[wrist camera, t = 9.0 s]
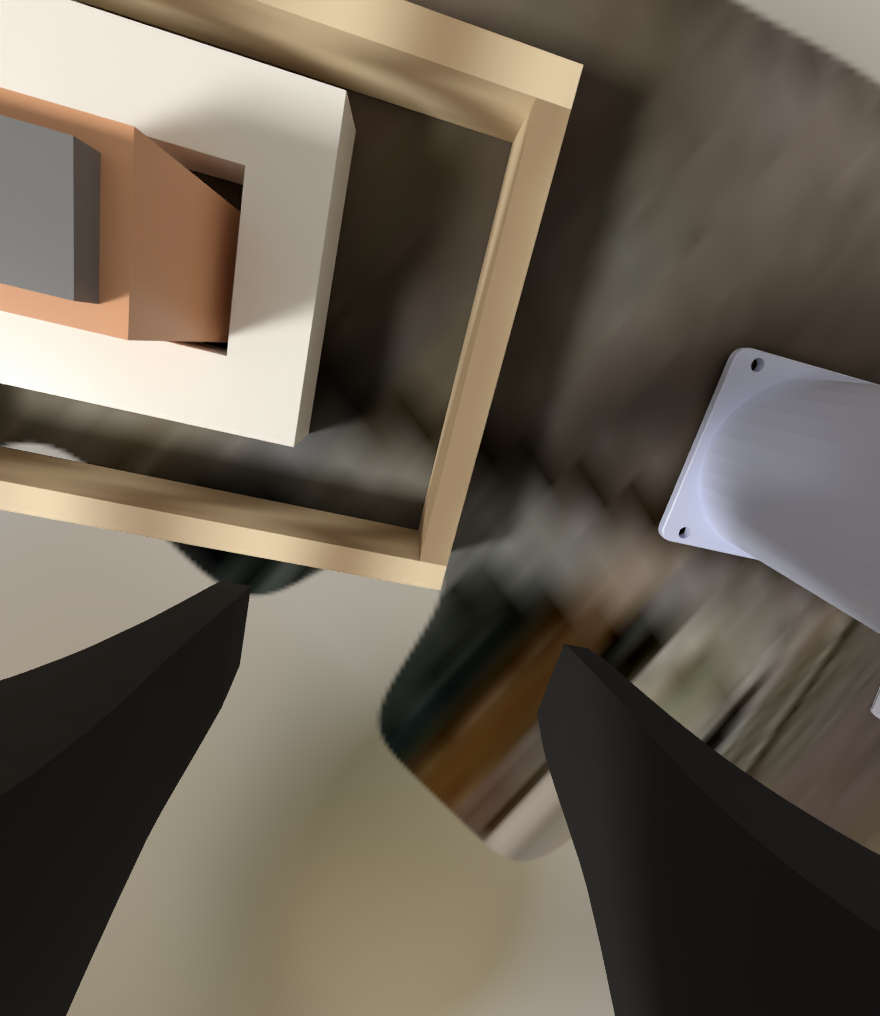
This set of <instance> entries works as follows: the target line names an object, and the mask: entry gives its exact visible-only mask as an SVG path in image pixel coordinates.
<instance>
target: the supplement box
mask: <svg viewBox="0 0 880 1016" xmlns="http://www.w3.org/2000/svg"><path fill="white" fill-rule="evenodd" d="M871 712H872V713H873V714H874V715H875V716H876V717H878V718H879V719H880V687H879V690H878V692H877V694H876V697H875V700H874V702H873V705H872V707H871Z"/></svg>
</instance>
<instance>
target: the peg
mask: <svg viewBox="0 0 880 1016" xmlns="http://www.w3.org/2000/svg"><path fill="white" fill-rule="evenodd" d="M240 214H241V212H240V211H238V210H237V209H236V208H235V207H234V206H232V205H231V204H230V203H229V202H227V201H226V200H225V199H224V198H222V197H221V196H220V195H219V194H217V193H216V192H215V191H214V190H212V189H211V188H210V187H209V186H208V185H206V184H205V183H204V182H203V181H201V180H200V179H199V178H198V177H196V176H195V175H194V174H193V173H191V172H190V171H189V170H188V169H186V168H185V167H184V166H183V165H181V164H180V163H179V162H178V161H177V160H175V159H174V158H173V157H172V156H170V155H169V154H168V153H167V152H165V151H164V150H163V149H162V148H160V147H159V146H158V145H157V144H155V143H154V142H153V141H152V140H150V139H149V138H148V137H147V136H146V135H144V134H143V133H142V132H141V131H139V130H138V129H137V128H136V127H134V126H131V125H128V124H124V123H121V122H117V121H114V120H111V119H107V118H104V117H100V116H97V115H94V114H90V113H87V112H83V111H80V110H77V109H73V108H70V107H66V106H63V105H59V104H56V103H53V102H49V101H46V100H42V99H39V98H36V97H32V96H29V95H25V94H22V93H19V92H15V91H12V90H8V89H5V88H1V87H0V311H4V312H8V313H13V314H17V315H21V316H26V317H30V318H34V319H39V320H43V321H47V322H51V323H56V324H60V325H64V326H69V327H73V328H77V329H81V330H86V331H90V332H94V333H99V334H103V335H107V336H111V337H116V338H120V339H124V340H136V341H188V342H228V338H229V328H230V317H231V307H232V297H233V286H234V276H235V266H236V255H237V245H238V235H239V224H240Z"/></svg>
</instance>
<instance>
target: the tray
mask: <svg viewBox="0 0 880 1016" xmlns="http://www.w3.org/2000/svg"><path fill="white" fill-rule="evenodd" d="M79 1H82V2H85V3H88V4H91V5H94V6H97V7H100V8H103V9H106V10H109V11H112V12H115V13H118V14H121V15H124V16H127V17H130V18H133V19H136V20H140V21H143V22H146V23H149V24H152V25H155V26H158V27H161V28H164V29H167V30H170V31H173V32H176V33H179V34H182V35H185V36H188V37H191V38H194V39H197V40H200V41H203V42H207V43H210V44H213V45H216V46H219V47H222V48H225V49H228V50H231V51H234V52H237V53H240V54H243V55H246V56H249V57H252V58H255V59H258V60H261V61H264V62H267V63H270V64H274V65H277V66H280V67H283V68H286V69H289V70H292V71H295V72H298V73H301V74H304V75H307V76H310V77H313V78H316V79H319V80H322V81H325V82H328V83H331V84H334V85H337V86H340V87H344V88H347V89H350V90H353V91H356V92H359V93H362V94H365V95H368V96H371V97H374V98H377V99H380V100H383V101H386V102H389V103H392V104H395V105H398V106H401V107H404V108H407V109H411V110H414V111H417V112H420V113H423V114H426V115H429V116H432V117H435V118H438V119H441V120H444V121H447V122H450V123H453V124H456V125H459V126H462V127H465V128H468V129H471V130H474V131H477V132H481V133H484V134H487V135H490V136H493V137H496V138H499V139H502V140H505V141H508V142H511V143H513V144H512V148H511V152H510V156H509V160H508V164H507V168H506V172H505V176H504V180H503V184H502V189H501V193H500V197H499V201H498V205H497V209H496V213H495V217H494V221H493V225H492V229H491V233H490V238H489V242H488V246H487V250H486V254H485V258H484V262H483V266H482V270H481V274H480V278H479V283H478V287H477V291H476V295H475V299H474V303H473V307H472V311H471V315H470V319H469V323H468V327H467V332H466V336H465V340H464V344H463V348H462V352H461V356H460V360H459V364H458V368H457V372H456V376H455V381H454V385H453V389H452V393H451V397H450V401H449V405H448V409H447V413H446V417H445V421H444V426H443V430H442V434H441V438H440V442H439V446H438V450H437V454H436V458H435V462H434V466H433V470H432V475H431V479H430V483H429V487H428V491H427V495H426V499H425V503H424V507H423V511H422V515H421V519H420V524H419V528H418V530H415V529H410V528H405V527H400V526H395V525H390V524H385V523H380V522H375V521H370V520H365V519H360V518H355V517H350V516H345V515H340V514H335V513H330V512H325V511H320V510H315V509H310V508H305V507H300V506H295V505H290V504H285V503H280V502H275V501H270V500H265V499H260V498H255V497H250V496H245V495H240V494H236V493H231V492H226V491H221V490H216V489H211V488H206V487H201V486H196V485H191V484H186V483H181V482H176V481H171V480H166V479H161V478H156V477H151V476H146V475H141V474H136V473H131V472H126V471H121V470H116V469H111V468H106V467H101V466H96V465H91V464H86V463H81V462H76V461H71V460H66V459H61V458H56V457H52V456H46V455H42V454H37V453H31V452H27V451H22V450H17V449H12V448H7V447H2V446H0V510H6V511H11V512H17V513H22V514H28V515H34V516H39V517H44V518H49V519H55V520H60V521H66V522H71V523H77V524H82V525H88V526H93V527H99V528H104V529H109V530H115V531H120V532H126V533H131V534H136V535H142V536H147V537H153V538H158V539H164V540H169V541H174V542H180V543H185V544H191V545H196V546H201V547H207V548H212V549H218V550H223V551H229V552H234V553H240V554H245V555H250V556H256V557H261V558H267V559H272V560H278V561H283V562H288V563H294V564H299V565H305V566H310V567H316V568H321V569H326V570H332V571H338V572H343V573H348V574H354V575H360V576H365V577H370V578H376V579H381V580H387V581H392V582H397V583H403V584H408V585H413V586H419V587H424V588H430V589H436V590H440V589H441V586H442V582H443V578H444V575H445V571H446V567H447V564H448V560H449V556H450V553H451V549H452V545H453V542H454V538H455V534H456V531H457V527H458V523H459V520H460V516H461V512H462V509H463V505H464V501H465V497H466V494H467V490H468V486H469V483H470V479H471V475H472V472H473V468H474V464H475V461H476V457H477V453H478V450H479V446H480V442H481V439H482V435H483V431H484V428H485V424H486V420H487V417H488V413H489V409H490V406H491V402H492V398H493V395H494V391H495V387H496V384H497V380H498V376H499V373H500V369H501V365H502V362H503V358H504V354H505V351H506V347H507V343H508V340H509V336H510V332H511V329H512V325H513V321H514V318H515V314H516V310H517V306H518V303H519V299H520V295H521V292H522V288H523V284H524V281H525V277H526V273H527V270H528V266H529V262H530V259H531V255H532V251H533V248H534V244H535V240H536V237H537V233H538V229H539V226H540V222H541V218H542V215H543V211H544V207H545V204H546V200H547V196H548V193H549V189H550V185H551V182H552V178H553V174H554V171H555V167H556V163H557V160H558V156H559V152H560V149H561V145H562V141H563V138H564V134H565V130H566V127H567V123H568V119H569V115H570V112H571V108H572V104H573V101H574V97H575V93H576V90H577V86H578V82H579V79H580V75H581V71H582V68H583V65H582V64H579V63H577V62H574V61H571V60H568V59H565V58H563V57H560V56H557V55H554V54H552V53H549V52H546V51H543V50H541V49H538V48H535V47H532V46H529V45H527V44H524V43H521V42H518V41H516V40H513V39H510V38H507V37H505V36H502V35H499V34H496V33H493V32H491V31H488V30H485V29H482V28H480V27H477V26H474V25H471V24H469V23H466V22H463V21H460V20H457V19H455V18H452V17H449V16H446V15H444V14H441V13H438V12H435V11H432V10H430V9H427V8H424V7H421V6H419V5H416V4H413V3H410V2H408V1H405V0H79ZM0 87H1V88H5V89H8V90H12V91H15V92H19V93H22V94H25V95H29V96H32V97H36V98H39V99H42V100H46V101H49V102H53V103H56V104H59V105H63V106H66V107H70V108H73V109H77V110H80V111H83V112H87V113H90V114H94V115H97V116H100V117H104V118H107V119H111V120H114V121H117V122H121V123H124V124H128V125H131V126H134V127H136V128H137V129H138V130H139V131H141V132H142V133H143V134H144V135H146V136H147V137H148V138H149V139H150V140H152V141H153V142H154V143H155V144H157V145H158V146H159V147H160V148H162V149H163V150H164V151H165V152H167V153H168V154H169V155H170V156H172V157H173V158H174V159H175V160H177V161H178V162H179V163H180V164H181V165H183V166H184V167H185V168H186V169H190V170H193V171H196V172H200V173H203V174H207V175H210V176H214V177H217V178H221V179H224V180H227V181H231V182H234V183H238V184H241V185H243V193H242V204H241V214H240V224H239V235H238V245H237V255H236V266H235V276H234V286H233V297H232V307H231V317H230V328H229V338H228V348H222V347H218V346H214V345H210V344H206V343H202V342H188V341H136V340H124V339H120V338H116V337H111V336H107V335H103V334H99V333H94V332H90V331H86V330H81V329H77V328H73V327H69V326H64V325H60V324H56V323H51V322H47V321H43V320H39V319H34V318H30V317H26V316H21V315H17V314H13V313H8V312H4V311H0V383H2V384H7V385H11V386H16V387H21V388H25V389H30V390H34V391H39V392H44V393H48V394H53V395H57V396H62V397H66V398H71V399H76V400H80V401H85V402H89V403H94V404H99V405H103V406H108V407H112V408H117V409H121V410H126V411H131V412H135V413H140V414H144V415H149V416H154V417H158V418H163V419H167V420H172V421H176V422H181V423H186V424H190V425H195V426H199V427H204V428H209V429H213V430H218V431H222V432H227V433H231V434H236V435H241V436H245V437H250V438H254V439H259V440H264V441H268V442H273V443H277V444H282V445H286V446H291V447H294V446H295V445H297V444H298V443H299V442H300V441H301V440H302V439H303V438H304V437H305V436H307V435H308V433H309V427H310V421H311V414H312V408H313V401H314V395H315V389H316V382H317V376H318V369H319V363H320V357H321V350H322V344H323V337H324V331H325V325H326V318H327V312H328V306H329V299H330V293H331V286H332V280H333V274H334V267H335V261H336V254H337V248H338V242H339V235H340V229H341V222H342V216H343V210H344V203H345V197H346V190H347V184H348V178H349V171H350V165H351V158H352V152H353V146H354V139H355V133H356V129H355V125H354V121H353V117H352V112H351V108H350V104H349V100H348V95H347V91H346V90H343V89H340V88H337V87H334V86H331V85H328V84H325V83H322V82H319V81H316V80H312V79H309V78H306V77H303V76H300V75H297V74H294V73H291V72H288V71H285V70H282V69H279V68H276V67H273V66H270V65H267V64H264V63H261V62H258V61H255V60H251V59H248V58H245V57H242V56H239V55H236V54H233V53H230V52H227V51H224V50H221V49H218V48H215V47H212V46H209V45H206V44H203V43H200V42H197V41H194V40H190V39H187V38H184V37H181V36H178V35H175V34H172V33H169V32H166V31H163V30H160V29H157V28H154V27H151V26H148V25H145V24H142V23H139V22H136V21H132V20H129V19H126V18H123V17H120V16H117V15H114V14H111V13H108V12H105V11H102V10H99V9H96V8H93V7H90V6H87V5H84V4H81V3H78V2H75V1H71V0H0Z"/></svg>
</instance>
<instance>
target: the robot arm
mask: <svg viewBox="0 0 880 1016" xmlns="http://www.w3.org/2000/svg"><path fill="white" fill-rule="evenodd" d="M754 359H756V360H757V366H756V368H755V369H754V370H753V371H752V369H751V363H752V362H753V360H754ZM683 527H686V529H685V531H684V533H683V534H681V535H679V531H680V530H681V529H682V528H683ZM658 530H659V534H660V535H661V536H662V537H663V538H665V539H666V540H669V541H673V542H678V543H682V544H687V545H692V546H696V547H701V548H706V549H710V550H715V551H720V552H724V553H729V554H734V555H738V556H743V557H748V558H752V559H757V560H759V561H761V562H763V563H764V564H766V565H768V566H769V567H771V568H773V569H774V570H776V571H777V572H779V573H781V574H782V575H784V576H786V577H787V578H789V579H791V580H792V581H794V582H796V583H797V584H799V585H800V586H802V587H804V588H805V589H807V590H809V591H810V592H812V593H814V594H815V595H817V596H819V597H820V598H822V599H823V600H825V601H827V602H828V603H830V604H832V605H833V606H835V607H837V608H838V609H840V610H841V611H843V612H845V613H846V614H848V615H850V616H851V617H853V618H855V619H856V620H858V621H860V622H861V623H863V624H864V625H866V626H868V627H869V628H871V629H873V630H874V631H876V632H878V633H879V634H880V385H879V384H875V383H872V382H868V381H865V380H861V379H858V378H854V377H851V376H847V375H844V374H840V373H837V372H833V371H830V370H826V369H823V368H819V367H816V366H812V365H809V364H805V363H802V362H798V361H795V360H791V359H788V358H784V357H781V356H777V355H774V354H770V353H767V352H763V351H760V350H756V349H753V348H739V349H736V350H735V351H734V352H732V353H731V355H730V356H729V358H728V360H727V363H726V365H725V368H724V370H723V373H722V375H721V377H720V380H719V382H718V385H717V387H716V389H715V392H714V394H713V397H712V399H711V401H710V404H709V406H708V409H707V411H706V414H705V416H704V418H703V421H702V423H701V426H700V428H699V430H698V433H697V435H696V438H695V440H694V442H693V445H692V447H691V450H690V452H689V455H688V457H687V459H686V462H685V464H684V467H683V469H682V471H681V474H680V476H679V479H678V481H677V483H676V486H675V488H674V491H673V493H672V496H671V498H670V500H669V503H668V505H667V508H666V510H665V512H664V515H663V517H662V520H661V522H660V524H659V529H658ZM250 589H251V586H247V585H242V584H236V583H231V582H226V581H220V582H218V583H216V584H214V585H212V586H210V587H208V588H207V589H205V590H203V591H201V592H199V593H198V594H196V595H194V596H192V597H190V598H188V599H186V600H185V601H183V602H181V603H179V604H177V605H175V606H173V607H171V608H170V609H168V610H166V611H164V612H162V613H160V614H158V615H156V616H154V617H152V618H150V619H148V620H146V621H144V622H143V623H140V624H138V625H136V626H134V627H132V628H130V629H127V630H125V631H123V632H121V633H119V634H117V635H115V636H112V637H110V638H108V639H106V640H104V641H102V642H100V643H98V644H95V645H93V646H91V647H88V648H86V649H84V650H81V651H79V652H77V653H74V654H72V655H69V656H67V657H64V658H62V659H59V660H57V661H54V662H51V663H48V664H46V665H43V666H40V667H38V668H35V669H33V670H30V671H27V672H24V673H21V674H19V675H16V676H13V677H10V678H7V679H3V680H1V681H0V1016H66V1014H67V1012H68V1010H69V1007H70V1005H71V1003H72V1001H73V999H74V996H75V994H76V992H77V989H78V987H79V985H80V982H81V980H82V978H83V976H84V974H85V971H86V969H87V967H88V965H89V963H90V960H91V958H92V956H93V954H94V952H95V949H96V947H97V945H98V943H99V941H100V939H101V936H102V934H103V932H104V930H105V928H106V925H107V923H108V921H109V919H110V917H111V914H112V912H113V910H114V908H115V906H116V903H117V901H118V899H119V897H120V895H121V892H122V891H123V888H124V886H125V884H126V882H127V880H128V878H129V876H130V874H131V871H132V869H133V867H134V865H135V863H136V861H137V858H138V857H139V854H140V852H141V850H142V848H143V846H144V844H145V841H146V839H147V838H148V836H149V834H150V832H151V830H152V828H153V826H154V825H155V823H156V821H157V819H158V817H159V815H160V813H161V811H162V810H163V808H164V806H165V805H166V803H167V801H168V799H169V798H170V796H171V794H172V793H173V791H174V789H175V787H176V786H177V784H178V782H179V780H180V779H181V777H182V775H183V774H184V772H185V770H186V768H187V767H188V765H189V763H190V762H191V760H192V758H193V756H194V755H195V753H196V751H197V750H198V748H199V746H200V744H201V743H202V741H203V739H204V737H205V735H206V734H207V732H208V730H209V728H210V727H211V725H212V723H213V722H214V720H215V718H216V716H217V715H218V713H219V711H220V709H221V708H222V705H223V703H224V700H225V698H226V696H227V694H228V692H229V689H230V687H231V685H232V682H233V680H234V677H235V675H236V673H237V670H238V668H239V665H240V659H241V652H242V645H243V638H244V631H245V624H246V617H247V610H248V603H249V596H250ZM537 715H538V721H539V726H540V732H541V738H542V743H543V748H544V753H545V757H546V760H547V764H548V767H549V770H550V773H551V776H552V779H553V782H554V786H555V789H556V792H557V795H558V798H559V801H560V804H561V807H562V810H563V813H564V816H565V819H566V822H567V825H568V828H569V831H570V834H571V837H572V840H573V843H574V846H575V849H576V852H577V855H578V858H579V861H580V865H581V868H582V872H583V875H584V879H585V882H586V886H587V890H588V893H589V898H590V902H591V907H592V911H593V915H594V920H595V924H596V928H597V932H598V936H599V941H600V946H601V950H602V955H603V960H604V965H605V969H606V974H607V979H608V984H609V989H610V994H611V998H612V1003H613V1008H614V1013H615V1016H880V855H879V854H877V853H875V852H873V851H871V850H869V849H867V848H866V847H864V846H862V845H860V844H859V843H857V842H855V841H853V840H852V839H850V838H848V837H846V836H845V835H843V834H841V833H839V832H838V831H836V830H834V829H833V828H831V827H829V826H828V825H826V824H824V823H823V822H821V821H819V820H818V819H816V818H814V817H813V816H811V815H810V814H808V813H806V812H805V811H803V810H801V809H800V808H798V807H797V806H795V805H793V804H792V803H790V802H788V801H787V800H785V799H784V798H782V797H781V796H779V795H778V794H776V793H775V792H773V791H771V790H770V789H768V788H767V787H765V786H764V785H762V784H761V783H760V782H758V781H757V780H755V779H754V778H752V777H751V776H749V775H748V774H747V773H745V772H744V771H742V770H741V769H739V768H738V767H737V766H735V765H734V764H732V763H731V762H729V761H728V760H727V759H725V758H724V757H723V756H721V755H720V754H718V753H717V752H716V751H714V750H713V749H712V748H710V747H709V746H708V745H707V744H705V743H704V742H703V741H701V740H700V739H699V738H698V737H696V736H695V735H694V734H692V733H691V732H690V731H689V730H687V729H686V728H685V727H684V726H682V725H681V724H680V723H679V722H677V721H676V720H675V719H674V718H672V717H671V716H670V715H669V714H668V713H666V712H665V711H664V710H663V709H662V708H660V707H659V706H658V705H657V704H656V703H654V702H653V701H652V700H651V699H650V698H649V697H647V696H646V695H645V694H644V693H643V692H642V691H640V690H639V689H638V688H637V687H636V686H634V685H633V684H632V683H631V682H630V681H629V680H627V679H626V678H625V677H624V676H623V675H622V674H620V673H619V672H618V671H617V670H616V669H614V668H613V667H612V666H611V665H610V664H608V663H607V662H606V661H605V660H603V659H602V658H601V657H600V656H598V655H597V654H596V653H594V652H593V651H591V650H590V649H588V648H583V647H577V646H572V645H566V644H564V646H563V649H562V651H561V654H560V656H559V659H558V661H557V664H556V666H555V669H554V672H553V674H552V677H551V679H550V682H549V684H548V687H547V689H546V692H545V695H544V697H543V700H542V702H541V705H540V707H539V710H538V712H537Z"/></svg>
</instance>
